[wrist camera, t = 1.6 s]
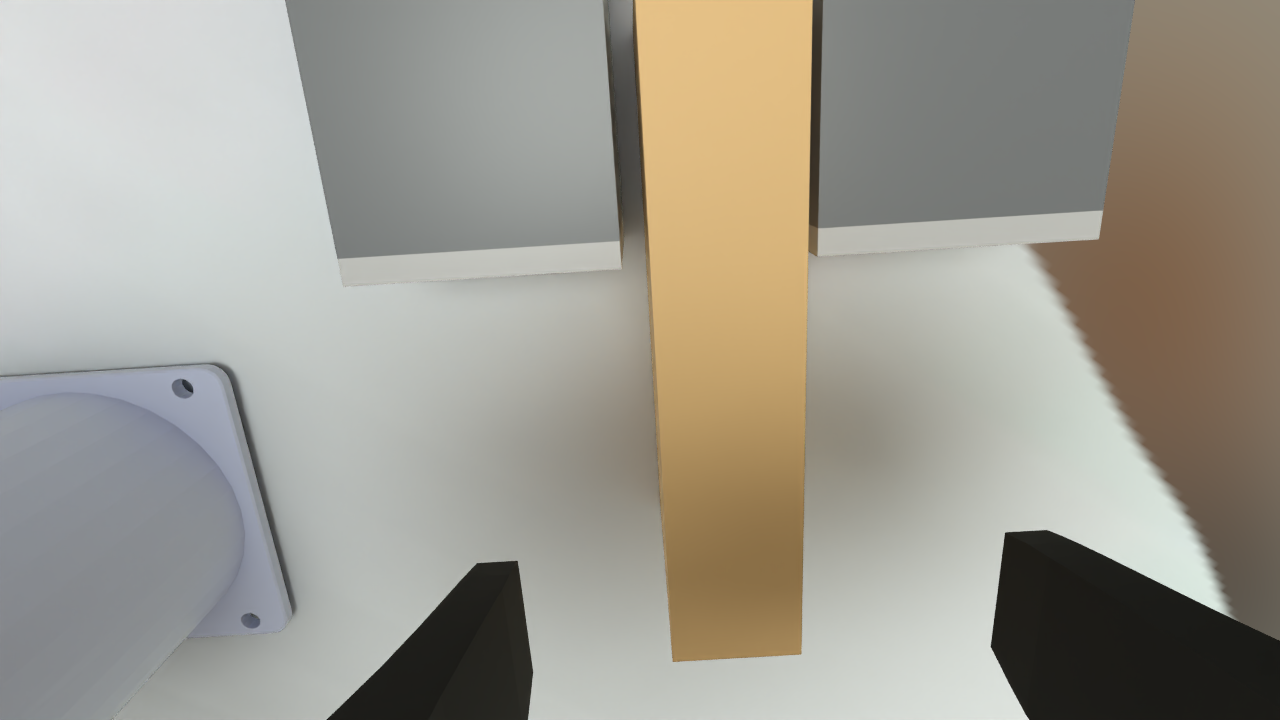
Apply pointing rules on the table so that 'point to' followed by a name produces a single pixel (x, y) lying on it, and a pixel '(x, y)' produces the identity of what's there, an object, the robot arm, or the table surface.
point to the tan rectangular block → (728, 311)
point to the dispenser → (588, 145)
